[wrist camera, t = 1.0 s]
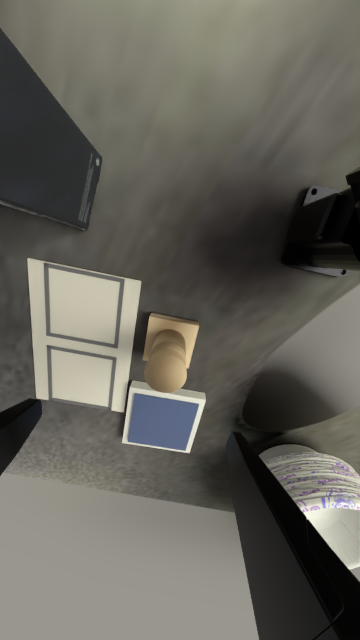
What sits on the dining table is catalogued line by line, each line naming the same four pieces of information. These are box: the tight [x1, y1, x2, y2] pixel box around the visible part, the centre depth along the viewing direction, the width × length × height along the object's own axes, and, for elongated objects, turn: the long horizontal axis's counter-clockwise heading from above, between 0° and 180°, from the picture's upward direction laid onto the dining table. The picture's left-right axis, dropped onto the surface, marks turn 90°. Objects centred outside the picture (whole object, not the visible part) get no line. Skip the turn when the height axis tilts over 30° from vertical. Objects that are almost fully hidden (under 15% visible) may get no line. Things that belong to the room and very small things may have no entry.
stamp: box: [143, 312, 199, 393], centre depth 17 cm, size 5×5×7 cm
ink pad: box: [122, 380, 206, 453], centre depth 23 cm, size 9×9×2 cm
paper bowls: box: [259, 444, 360, 570], centre depth 23 cm, size 15×15×8 cm
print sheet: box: [27, 258, 141, 412], centre depth 21 cm, size 11×17×1 cm, turn 169°
